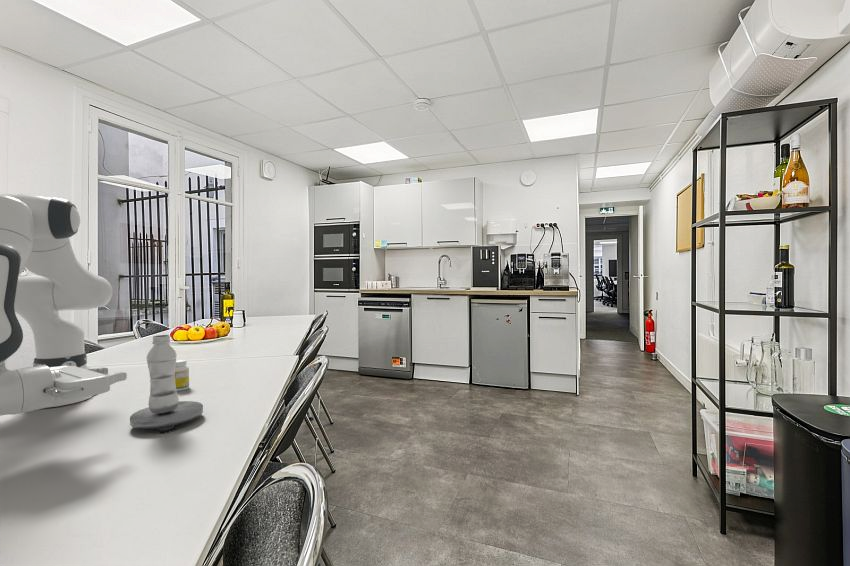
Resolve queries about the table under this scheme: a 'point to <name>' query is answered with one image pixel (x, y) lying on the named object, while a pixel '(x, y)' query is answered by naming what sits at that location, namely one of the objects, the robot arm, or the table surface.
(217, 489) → the table surface
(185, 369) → the supplement bottle
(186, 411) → the base
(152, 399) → the plastic bottle
